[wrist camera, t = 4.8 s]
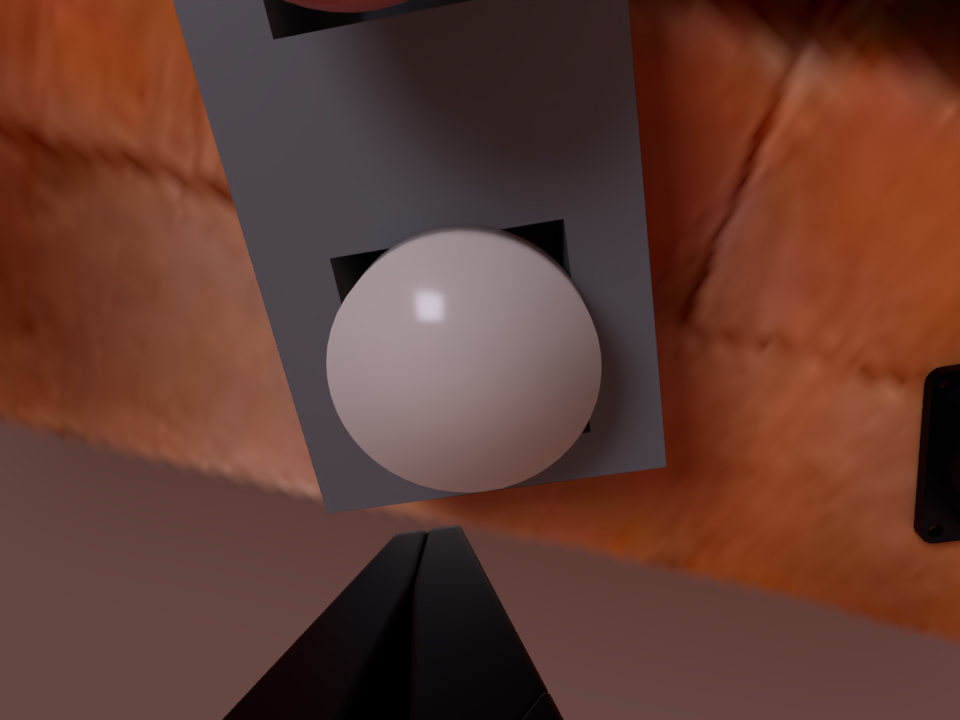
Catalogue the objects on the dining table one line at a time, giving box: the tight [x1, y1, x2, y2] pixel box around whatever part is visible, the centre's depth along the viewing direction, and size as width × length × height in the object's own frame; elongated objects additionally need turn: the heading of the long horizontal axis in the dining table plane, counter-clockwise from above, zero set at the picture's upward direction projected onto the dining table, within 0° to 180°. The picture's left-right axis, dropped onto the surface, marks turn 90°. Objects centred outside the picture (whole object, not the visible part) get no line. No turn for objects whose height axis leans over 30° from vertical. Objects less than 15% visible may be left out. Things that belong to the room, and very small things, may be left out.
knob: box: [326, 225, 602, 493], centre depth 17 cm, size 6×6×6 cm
